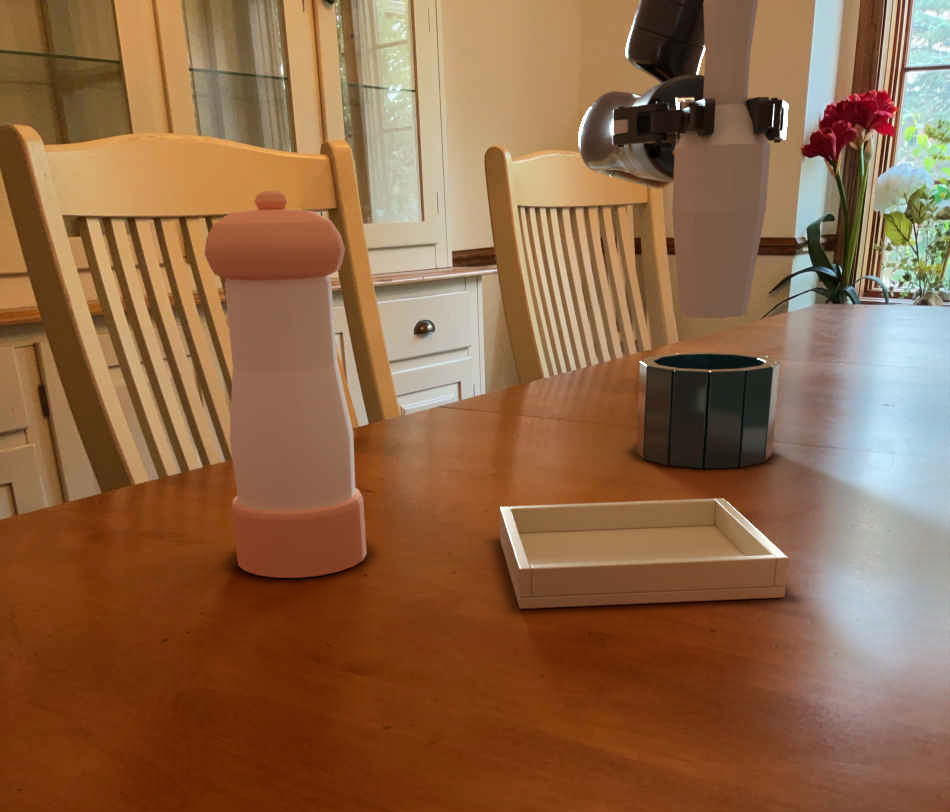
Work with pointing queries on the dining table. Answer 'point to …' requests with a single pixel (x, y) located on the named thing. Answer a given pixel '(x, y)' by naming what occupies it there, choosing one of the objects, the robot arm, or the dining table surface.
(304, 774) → the dining table surface
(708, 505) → the tray
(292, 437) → the salt shaker
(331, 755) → the dining table surface
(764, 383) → the holder
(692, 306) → the faceted bottle
